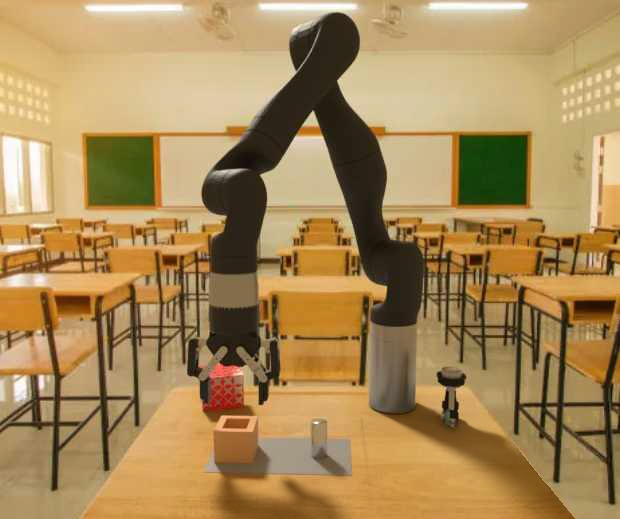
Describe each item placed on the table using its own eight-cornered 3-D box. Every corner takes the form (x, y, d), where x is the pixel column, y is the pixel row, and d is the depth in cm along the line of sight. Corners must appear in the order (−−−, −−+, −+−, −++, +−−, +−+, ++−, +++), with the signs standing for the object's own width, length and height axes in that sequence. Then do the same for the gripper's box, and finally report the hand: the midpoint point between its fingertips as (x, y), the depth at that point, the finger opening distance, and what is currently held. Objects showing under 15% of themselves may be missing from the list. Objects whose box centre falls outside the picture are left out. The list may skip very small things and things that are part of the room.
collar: (221, 444, 92) (221, 415, 91) (258, 445, 91) (257, 416, 91) (214, 462, 86) (213, 431, 85) (253, 463, 85) (252, 431, 85)
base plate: (219, 444, 95) (219, 436, 95) (349, 447, 94) (349, 439, 94) (203, 481, 83) (203, 471, 83) (351, 484, 82) (351, 475, 82)
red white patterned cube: (199, 403, 114) (198, 365, 113) (238, 399, 116) (237, 362, 115) (202, 418, 106) (201, 378, 105) (244, 414, 108) (243, 374, 107)
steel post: (310, 460, 90) (311, 418, 89) (327, 460, 89) (327, 418, 89) (310, 468, 87) (310, 425, 86) (326, 468, 87) (327, 425, 86)
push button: (467, 431, 100) (469, 377, 99) (437, 429, 101) (439, 376, 100) (462, 416, 107) (464, 365, 106) (434, 414, 108) (435, 364, 106)
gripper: (282, 297, 89) (282, 395, 91) (194, 295, 90) (195, 393, 92) (277, 306, 82) (277, 413, 83) (181, 304, 82) (182, 410, 84)
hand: (234, 402), depth 87 cm, fingers open, 8 cm apart
